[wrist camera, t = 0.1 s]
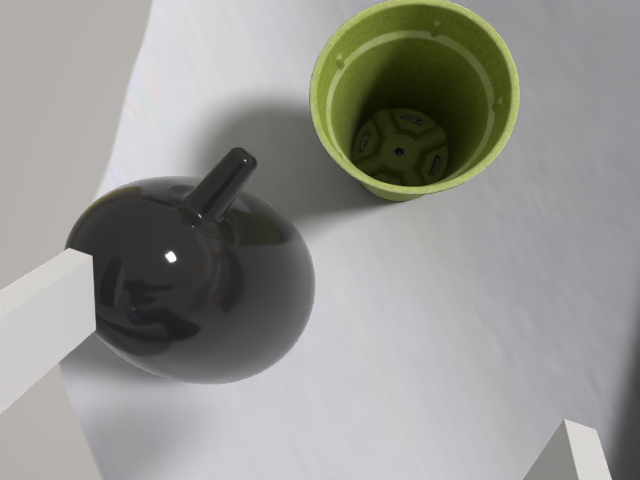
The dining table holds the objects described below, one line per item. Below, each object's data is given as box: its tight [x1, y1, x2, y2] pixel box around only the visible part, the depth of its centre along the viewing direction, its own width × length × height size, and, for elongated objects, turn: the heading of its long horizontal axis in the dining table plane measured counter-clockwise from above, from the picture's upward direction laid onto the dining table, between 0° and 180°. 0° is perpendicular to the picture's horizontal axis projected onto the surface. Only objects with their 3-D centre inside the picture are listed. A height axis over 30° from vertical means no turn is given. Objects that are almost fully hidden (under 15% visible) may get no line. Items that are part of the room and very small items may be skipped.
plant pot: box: [309, 0, 520, 201], centre depth 25 cm, size 9×9×9 cm
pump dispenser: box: [64, 146, 315, 384], centre depth 22 cm, size 10×10×15 cm
